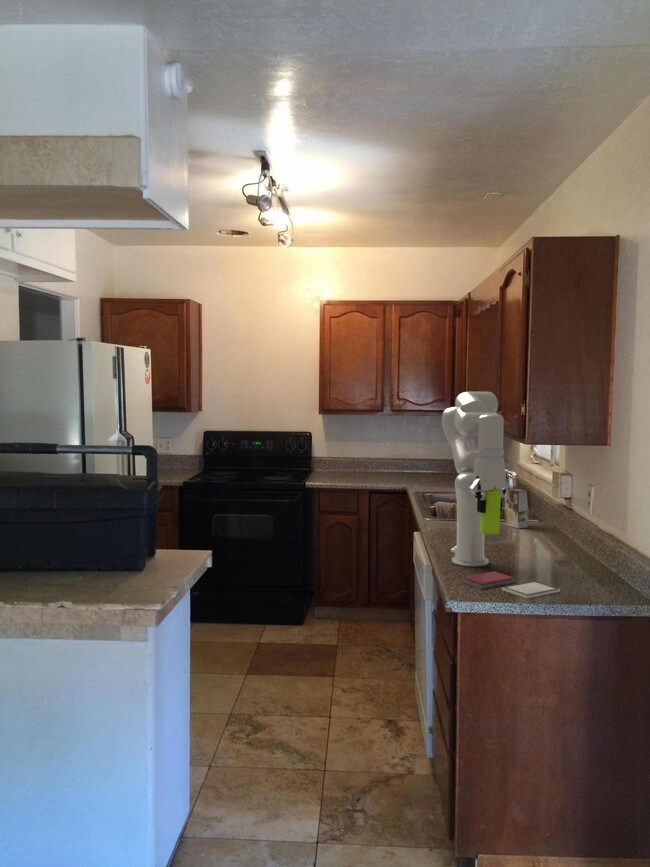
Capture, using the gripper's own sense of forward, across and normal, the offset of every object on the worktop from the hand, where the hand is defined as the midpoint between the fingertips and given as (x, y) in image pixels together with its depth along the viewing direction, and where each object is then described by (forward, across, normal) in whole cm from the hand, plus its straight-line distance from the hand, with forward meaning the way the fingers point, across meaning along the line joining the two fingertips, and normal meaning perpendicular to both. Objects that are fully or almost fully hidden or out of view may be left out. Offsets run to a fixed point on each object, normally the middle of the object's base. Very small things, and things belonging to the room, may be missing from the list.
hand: (489, 510), depth 219 cm
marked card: (+23, -5, +13) cm, 27 cm away
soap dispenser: (+7, 0, 0) cm, 7 cm away
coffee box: (+23, -73, -61) cm, 98 cm away
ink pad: (+23, 0, 0) cm, 23 cm away
